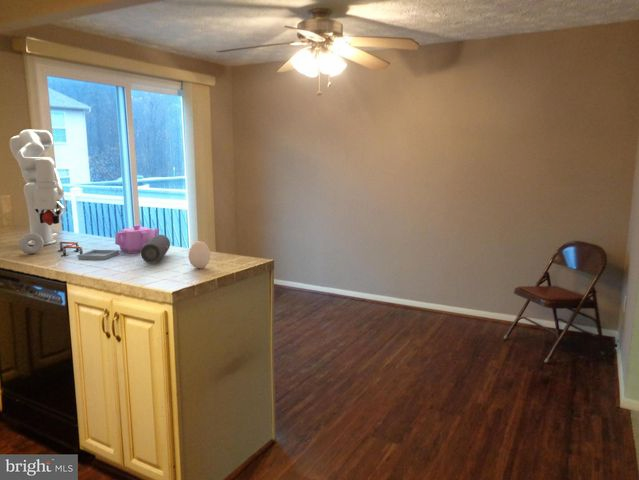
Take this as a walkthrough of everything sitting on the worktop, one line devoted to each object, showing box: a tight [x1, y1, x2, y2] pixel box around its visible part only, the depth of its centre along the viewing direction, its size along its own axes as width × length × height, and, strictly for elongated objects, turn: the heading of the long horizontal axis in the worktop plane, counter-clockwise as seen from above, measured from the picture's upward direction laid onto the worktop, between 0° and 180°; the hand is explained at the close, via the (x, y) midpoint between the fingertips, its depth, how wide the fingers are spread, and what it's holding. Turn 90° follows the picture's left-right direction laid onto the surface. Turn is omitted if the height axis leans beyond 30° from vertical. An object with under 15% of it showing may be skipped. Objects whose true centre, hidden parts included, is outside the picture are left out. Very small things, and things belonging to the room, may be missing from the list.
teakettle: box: [114, 224, 160, 254], centre depth 225 cm, size 17×17×12 cm
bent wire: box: [57, 241, 84, 258], centre depth 216 cm, size 13×19×4 cm
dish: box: [77, 249, 120, 261], centre depth 211 cm, size 12×12×2 cm
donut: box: [18, 232, 44, 255], centre depth 214 cm, size 10×4×10 cm, turn 139°
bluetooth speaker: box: [140, 234, 171, 264], centre depth 205 cm, size 23×9×10 cm, turn 8°
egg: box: [188, 240, 211, 269], centre depth 190 cm, size 9×9×12 cm
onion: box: [42, 210, 54, 226], centre depth 219 cm, size 6×6×8 cm
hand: (49, 222), depth 220 cm, fingers closed on onion, 5 cm apart
